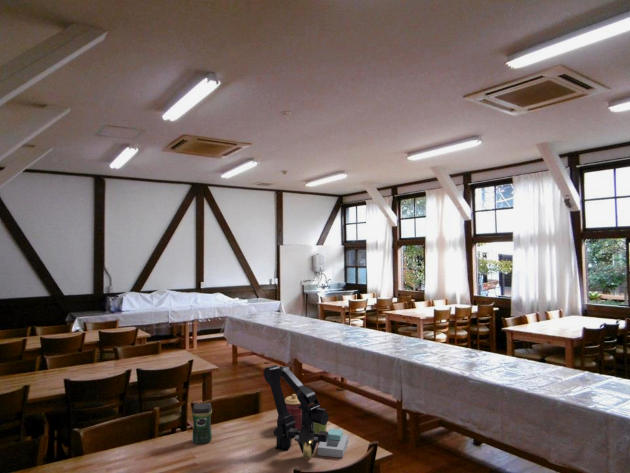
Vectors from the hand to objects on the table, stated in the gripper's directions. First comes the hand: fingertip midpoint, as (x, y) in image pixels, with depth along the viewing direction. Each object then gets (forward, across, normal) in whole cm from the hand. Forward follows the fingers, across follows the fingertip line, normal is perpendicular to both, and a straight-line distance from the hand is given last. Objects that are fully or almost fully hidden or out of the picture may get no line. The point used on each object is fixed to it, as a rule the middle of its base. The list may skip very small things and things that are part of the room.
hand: (307, 453), depth 201 cm
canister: (+2, -16, +32) cm, 36 cm away
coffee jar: (+2, -56, +4) cm, 56 cm away
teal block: (-2, +10, +15) cm, 19 cm away
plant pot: (+2, 0, +25) cm, 25 cm away
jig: (+2, +10, +11) cm, 15 cm away
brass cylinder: (+2, 0, 0) cm, 2 cm away
